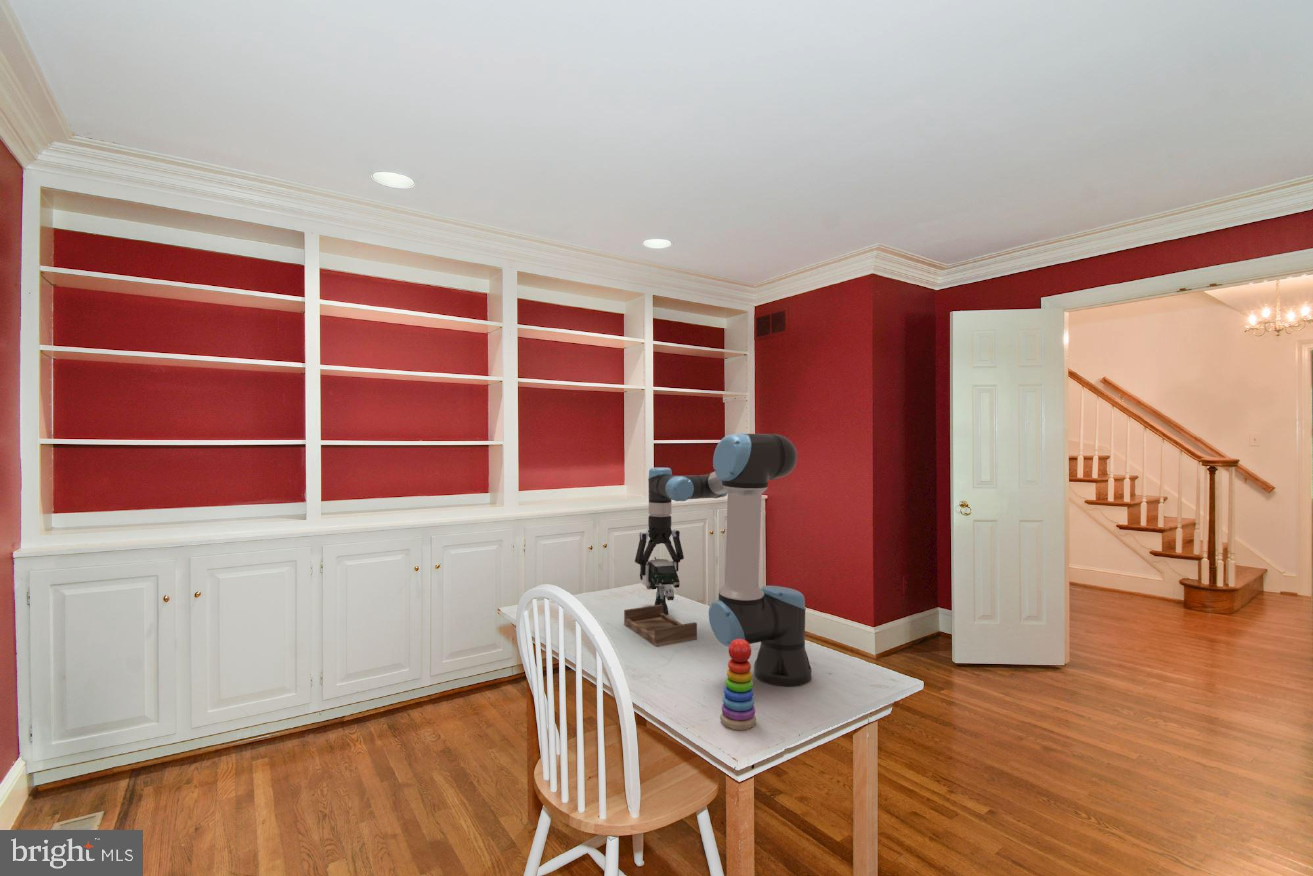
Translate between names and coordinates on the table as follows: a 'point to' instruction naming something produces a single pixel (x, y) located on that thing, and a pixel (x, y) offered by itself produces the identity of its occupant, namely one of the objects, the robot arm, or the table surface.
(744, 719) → the stacking toy
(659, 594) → the robot
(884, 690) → the table surface
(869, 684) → the table surface
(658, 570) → the miniature car
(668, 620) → the cradle
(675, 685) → the table surface
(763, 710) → the table surface
